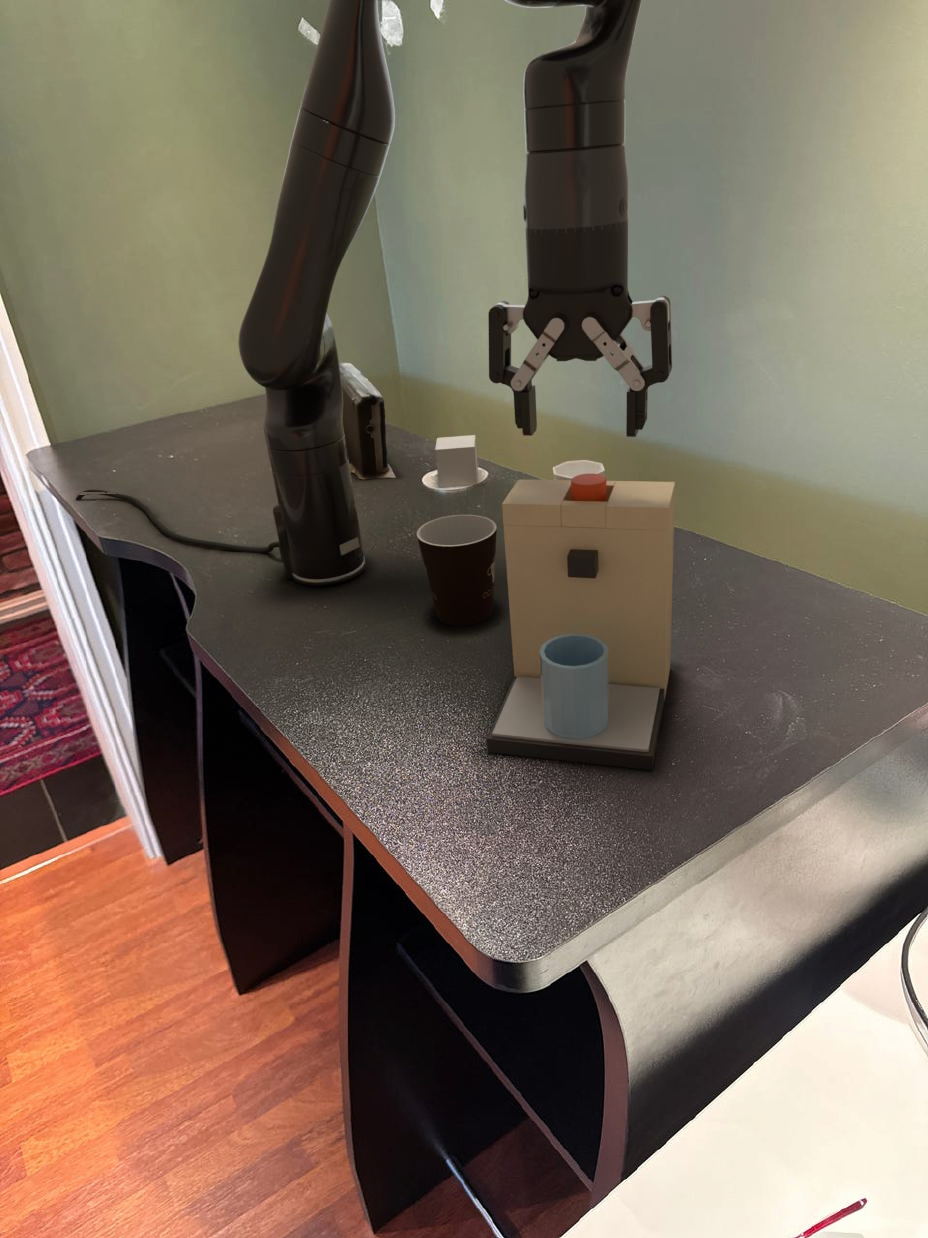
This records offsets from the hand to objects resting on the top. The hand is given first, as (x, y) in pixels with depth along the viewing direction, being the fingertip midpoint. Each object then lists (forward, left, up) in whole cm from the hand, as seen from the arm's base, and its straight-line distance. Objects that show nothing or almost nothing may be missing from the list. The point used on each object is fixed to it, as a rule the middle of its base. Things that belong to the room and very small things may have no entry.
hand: (580, 433), depth 73 cm
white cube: (-30, +55, -25) cm, 67 cm away
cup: (-9, +37, -25) cm, 45 cm away
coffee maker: (0, -4, -25) cm, 25 cm away
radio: (-49, +64, -25) cm, 85 cm away
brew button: (0, +1, -7) cm, 7 cm away
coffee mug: (-16, +14, -25) cm, 33 cm away
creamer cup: (+1, -8, -23) cm, 24 cm away
